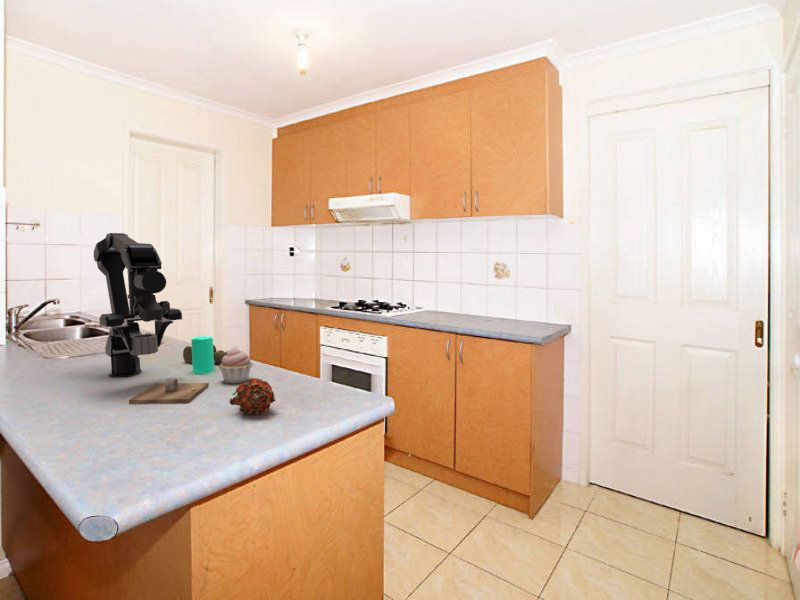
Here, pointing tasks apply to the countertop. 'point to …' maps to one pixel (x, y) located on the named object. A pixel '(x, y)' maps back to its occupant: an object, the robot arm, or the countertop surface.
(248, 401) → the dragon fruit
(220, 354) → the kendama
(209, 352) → the candle
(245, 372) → the cupcake
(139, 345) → the gray faceted pot
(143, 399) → the square brown plate
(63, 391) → the countertop surface
